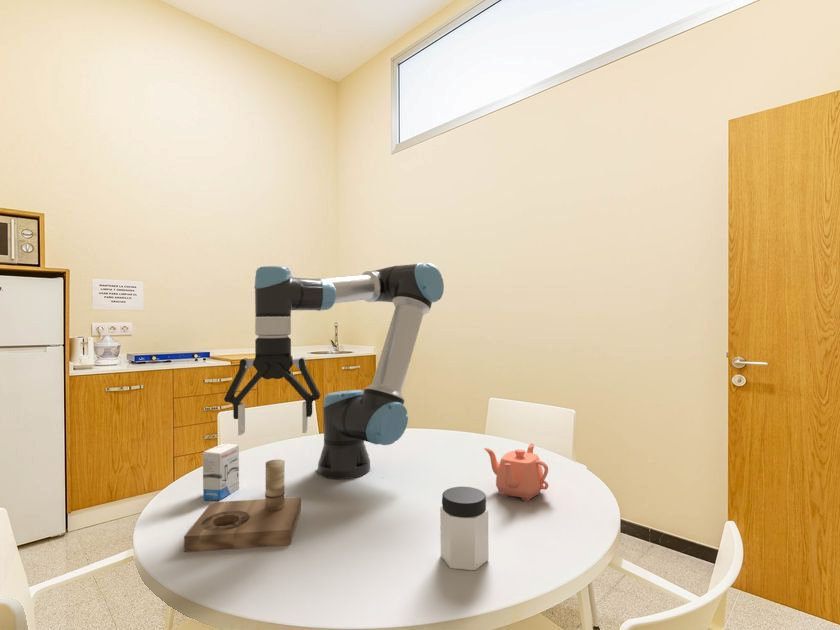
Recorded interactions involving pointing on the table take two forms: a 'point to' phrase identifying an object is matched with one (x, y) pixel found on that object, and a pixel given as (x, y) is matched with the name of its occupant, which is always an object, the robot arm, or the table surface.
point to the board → (243, 525)
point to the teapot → (519, 473)
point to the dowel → (275, 485)
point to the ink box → (220, 471)
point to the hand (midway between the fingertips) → (273, 432)
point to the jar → (464, 528)
